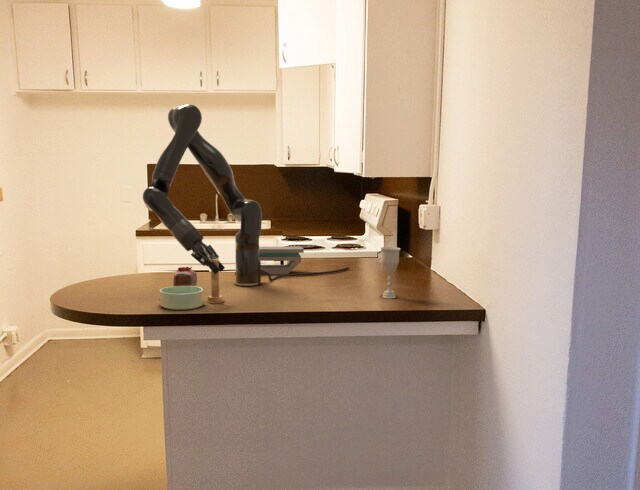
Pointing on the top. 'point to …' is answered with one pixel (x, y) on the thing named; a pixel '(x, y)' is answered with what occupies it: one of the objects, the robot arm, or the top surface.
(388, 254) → the chalice
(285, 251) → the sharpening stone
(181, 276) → the food item
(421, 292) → the top surface
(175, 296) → the bowl
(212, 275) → the wooden bolt
